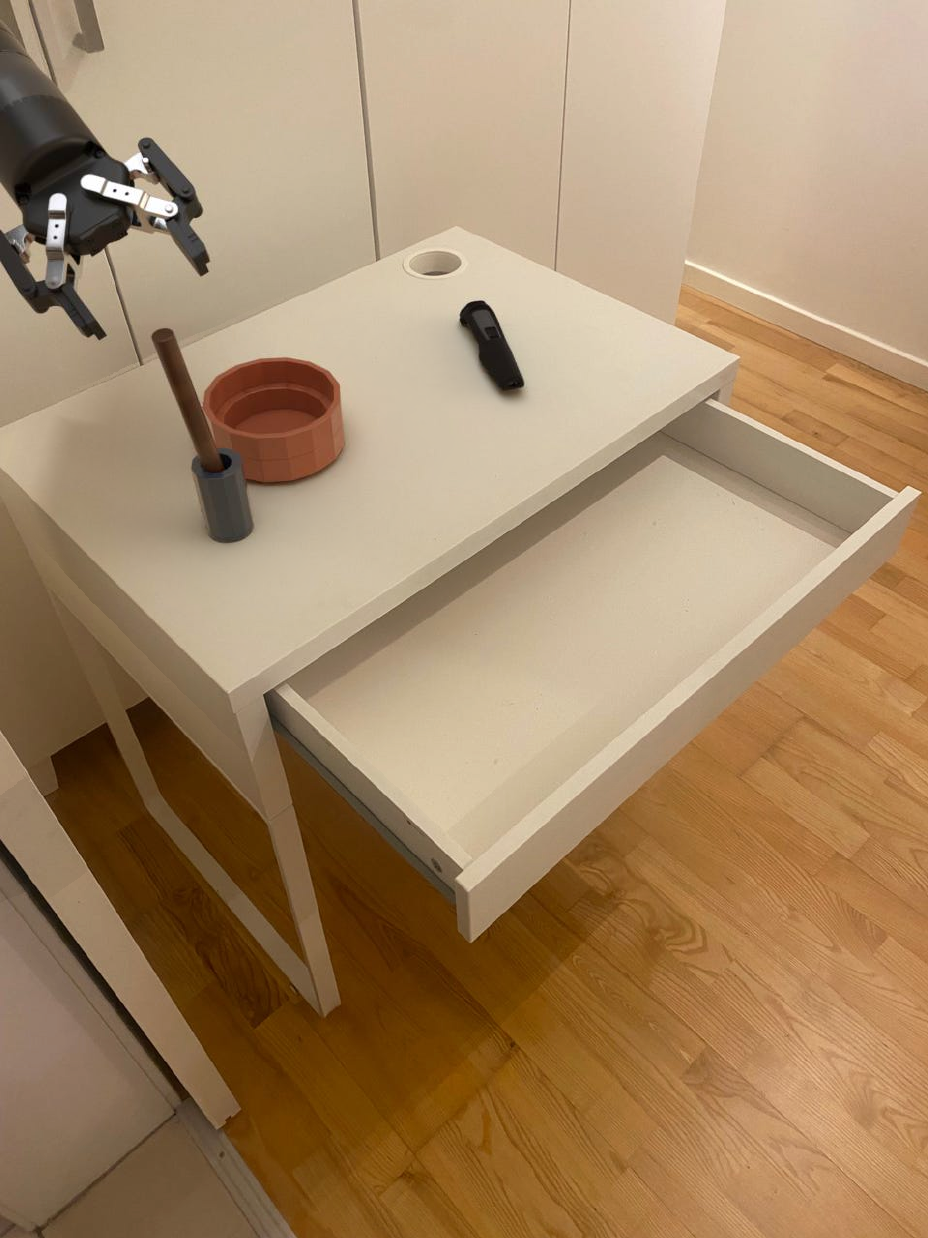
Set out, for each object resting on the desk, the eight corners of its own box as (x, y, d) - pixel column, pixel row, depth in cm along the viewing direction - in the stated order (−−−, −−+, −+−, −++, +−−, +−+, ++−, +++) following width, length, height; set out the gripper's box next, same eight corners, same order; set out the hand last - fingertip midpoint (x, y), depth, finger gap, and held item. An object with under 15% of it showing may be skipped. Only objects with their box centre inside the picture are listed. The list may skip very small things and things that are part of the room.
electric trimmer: (494, 404, 95) (496, 378, 93) (456, 320, 105) (457, 294, 103) (531, 400, 96) (533, 373, 94) (489, 317, 106) (491, 290, 103)
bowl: (209, 490, 86) (198, 441, 82) (217, 409, 94) (207, 360, 90) (346, 482, 87) (341, 433, 83) (343, 402, 95) (338, 354, 91)
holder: (205, 544, 81) (189, 480, 76) (208, 512, 84) (193, 448, 78) (253, 541, 81) (240, 477, 76) (255, 509, 84) (242, 445, 79)
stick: (224, 527, 82) (150, 343, 67) (223, 514, 83) (151, 329, 68) (242, 524, 82) (173, 339, 67) (242, 511, 83) (173, 325, 68)
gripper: (-83, 152, 65) (41, 327, 63) (96, 48, 67) (223, 213, 65) (-28, 220, 73) (85, 379, 70) (131, 124, 75) (247, 276, 72)
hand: (151, 299), depth 67 cm, fingers open, 8 cm apart
